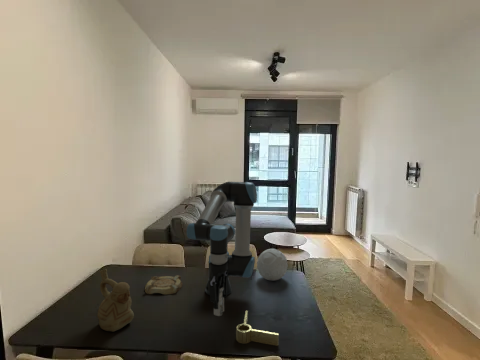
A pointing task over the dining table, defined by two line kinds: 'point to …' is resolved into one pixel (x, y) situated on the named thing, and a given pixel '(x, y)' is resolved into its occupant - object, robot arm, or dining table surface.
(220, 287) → the pin
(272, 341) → the hinge
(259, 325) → the dining table surface
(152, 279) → the ashtray
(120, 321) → the ceramic vessel
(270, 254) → the decorative sphere
